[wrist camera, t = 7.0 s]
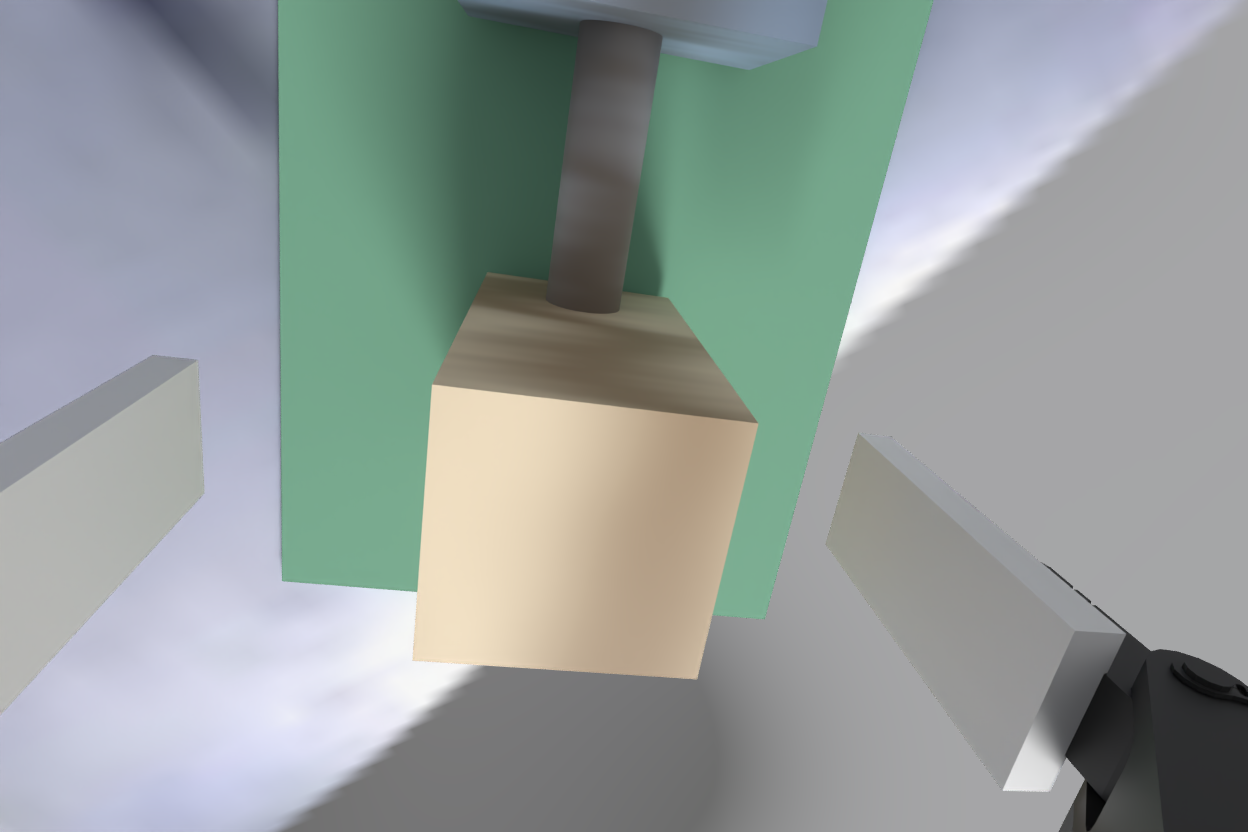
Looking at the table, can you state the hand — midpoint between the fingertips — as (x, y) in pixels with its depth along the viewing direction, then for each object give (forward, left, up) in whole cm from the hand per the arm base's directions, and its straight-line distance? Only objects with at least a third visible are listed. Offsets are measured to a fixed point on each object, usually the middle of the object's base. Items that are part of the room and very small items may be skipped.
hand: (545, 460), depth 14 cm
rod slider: (+1, +4, -6) cm, 7 cm away
